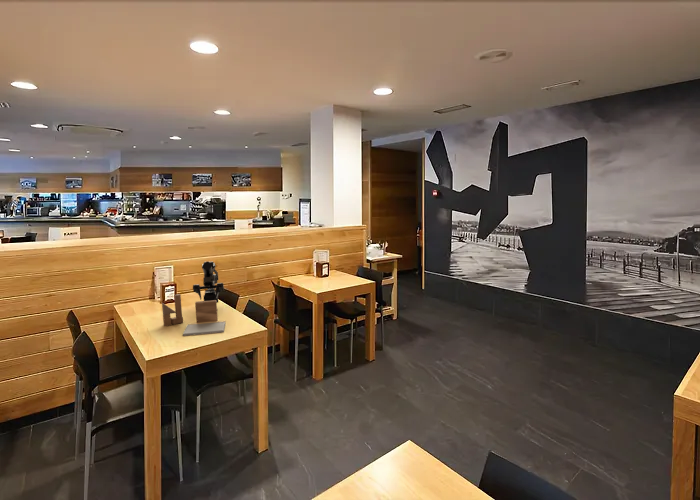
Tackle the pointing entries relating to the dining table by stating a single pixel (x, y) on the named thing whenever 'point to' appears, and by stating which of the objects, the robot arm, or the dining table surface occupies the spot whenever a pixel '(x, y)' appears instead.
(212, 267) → the robot arm
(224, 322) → the slate floor board
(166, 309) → the wooden block
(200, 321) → the walnut plank
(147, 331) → the dining table surface
